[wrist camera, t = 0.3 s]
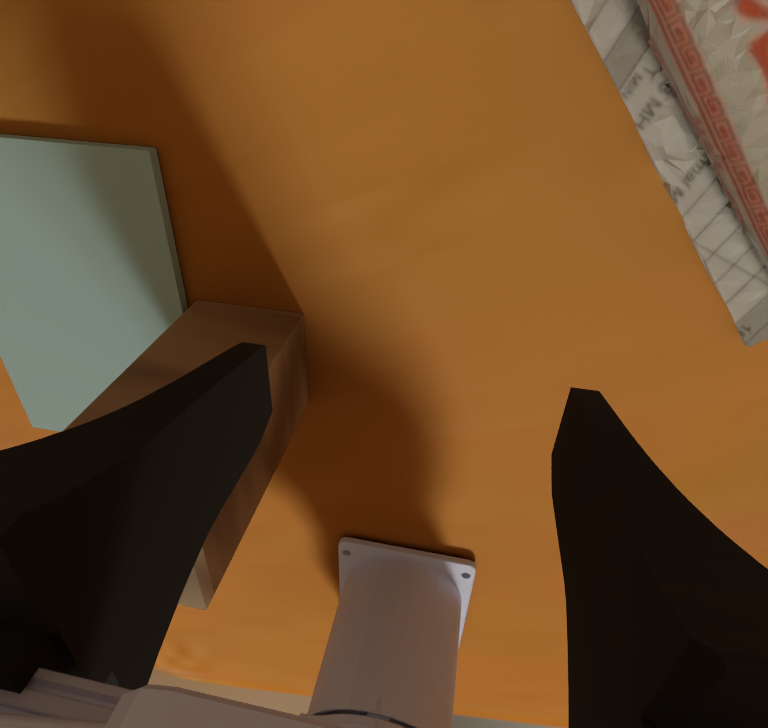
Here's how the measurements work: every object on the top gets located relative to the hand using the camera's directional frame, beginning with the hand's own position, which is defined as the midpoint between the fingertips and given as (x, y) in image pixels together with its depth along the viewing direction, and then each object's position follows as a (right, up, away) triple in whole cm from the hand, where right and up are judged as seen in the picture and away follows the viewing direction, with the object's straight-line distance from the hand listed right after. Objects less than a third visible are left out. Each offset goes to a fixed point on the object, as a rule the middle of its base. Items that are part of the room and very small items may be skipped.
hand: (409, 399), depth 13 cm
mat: (-15, +3, +13) cm, 20 cm away
